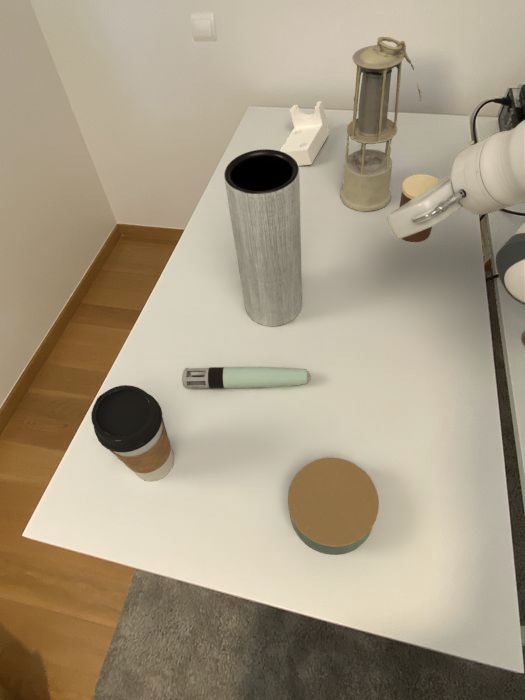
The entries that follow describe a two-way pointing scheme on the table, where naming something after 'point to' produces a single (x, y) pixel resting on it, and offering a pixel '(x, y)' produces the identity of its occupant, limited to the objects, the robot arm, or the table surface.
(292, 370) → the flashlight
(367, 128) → the lamp
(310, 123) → the bracket
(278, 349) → the table surface
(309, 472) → the coffee tin
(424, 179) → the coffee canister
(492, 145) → the robot arm
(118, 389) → the coffee cup
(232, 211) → the vase
